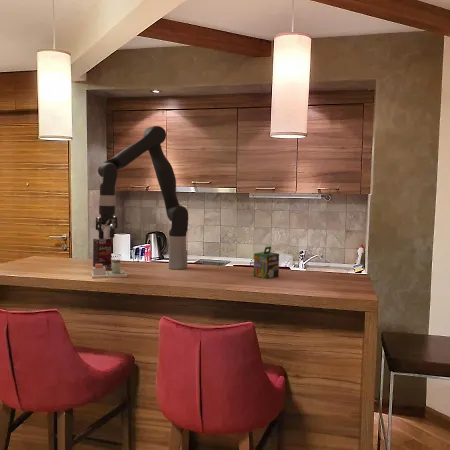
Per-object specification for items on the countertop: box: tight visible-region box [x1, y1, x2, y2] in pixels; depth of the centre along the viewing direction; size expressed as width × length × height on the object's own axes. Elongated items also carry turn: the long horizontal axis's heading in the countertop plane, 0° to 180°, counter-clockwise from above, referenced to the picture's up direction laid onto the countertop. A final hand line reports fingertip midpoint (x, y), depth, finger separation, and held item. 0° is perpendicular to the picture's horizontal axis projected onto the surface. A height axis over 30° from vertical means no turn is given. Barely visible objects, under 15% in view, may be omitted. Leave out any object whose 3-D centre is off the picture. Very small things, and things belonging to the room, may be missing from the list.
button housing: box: [92, 266, 107, 275], centre depth 232 cm, size 6×6×3 cm
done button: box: [95, 264, 103, 268], centre depth 232 cm, size 3×3×2 cm
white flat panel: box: [90, 269, 128, 279], centre depth 234 cm, size 16×12×1 cm
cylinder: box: [111, 259, 122, 273], centre depth 235 cm, size 4×4×6 cm
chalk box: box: [253, 246, 280, 280], centre depth 237 cm, size 9×9×15 cm
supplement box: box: [92, 237, 113, 270], centre depth 251 cm, size 9×5×16 cm, turn 143°
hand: (106, 238), depth 233 cm, fingers open, 8 cm apart
